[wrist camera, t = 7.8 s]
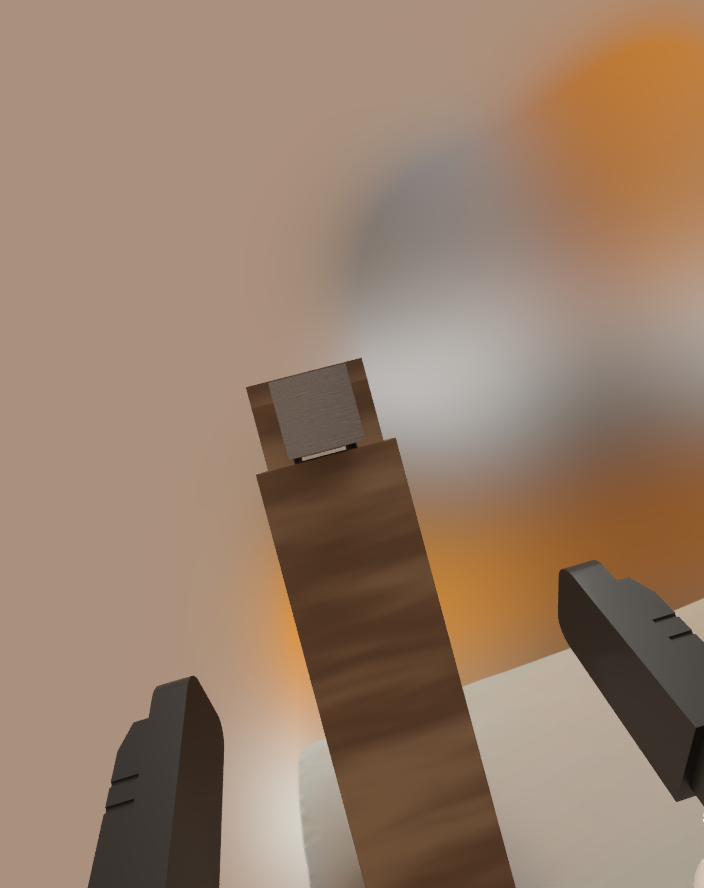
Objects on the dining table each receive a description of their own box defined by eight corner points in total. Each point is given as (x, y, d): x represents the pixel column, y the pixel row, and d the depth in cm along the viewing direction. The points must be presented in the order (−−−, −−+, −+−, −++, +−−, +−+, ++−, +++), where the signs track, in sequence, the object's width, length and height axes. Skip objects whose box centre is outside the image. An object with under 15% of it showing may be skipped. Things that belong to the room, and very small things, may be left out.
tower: (543, 991, 28) (373, 354, 28) (405, 1038, 28) (233, 390, 28) (476, 830, 40) (357, 384, 40) (380, 862, 40) (259, 409, 40)
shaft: (365, 439, 19) (345, 362, 19) (288, 460, 19) (267, 382, 19) (339, 447, 46) (330, 415, 46) (307, 456, 46) (298, 424, 46)
